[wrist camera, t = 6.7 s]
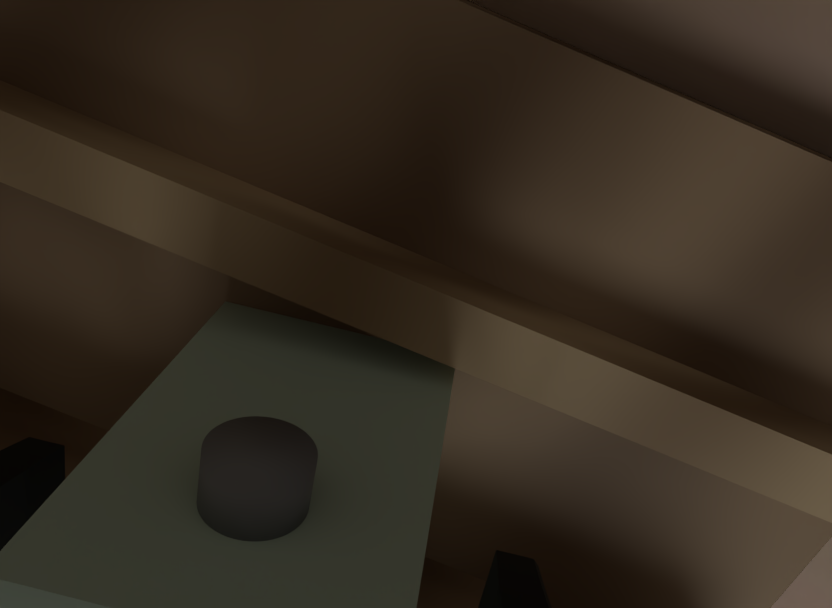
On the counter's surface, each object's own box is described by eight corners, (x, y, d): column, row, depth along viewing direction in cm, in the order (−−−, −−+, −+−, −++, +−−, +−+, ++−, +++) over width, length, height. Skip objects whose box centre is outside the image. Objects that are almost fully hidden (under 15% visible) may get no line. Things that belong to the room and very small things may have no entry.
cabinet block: (466, 319, 13) (420, 628, 7) (415, 519, 15) (343, 897, 9) (229, 262, 14) (-25, 514, 7) (208, 468, 16) (-3, 805, 9)
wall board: (1027, 243, 13) (1272, 371, 8) (671, 675, 18) (717, 884, 14) (-81, -237, 12) (-401, -351, 8) (-122, 360, 17) (-327, 483, 13)
